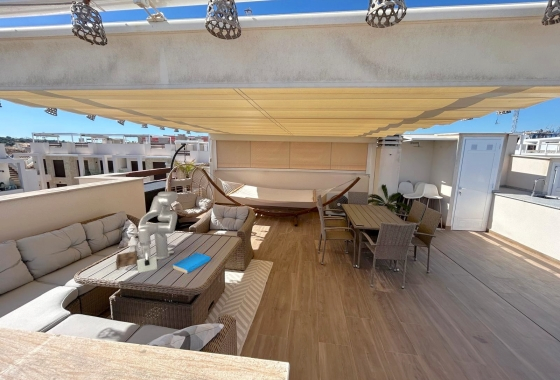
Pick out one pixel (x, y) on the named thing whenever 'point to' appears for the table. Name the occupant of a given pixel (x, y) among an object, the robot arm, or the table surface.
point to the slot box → (126, 259)
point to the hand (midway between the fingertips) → (147, 264)
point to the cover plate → (149, 267)
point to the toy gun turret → (134, 245)
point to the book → (191, 262)
